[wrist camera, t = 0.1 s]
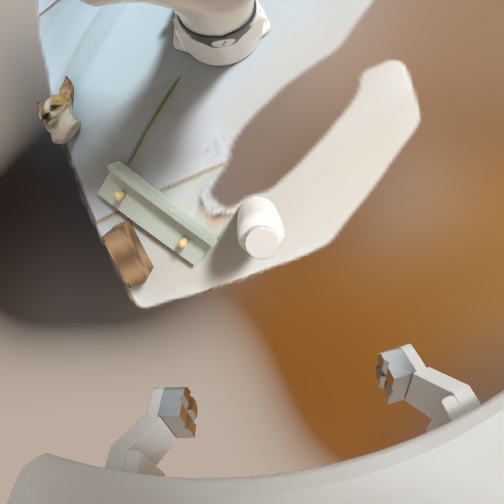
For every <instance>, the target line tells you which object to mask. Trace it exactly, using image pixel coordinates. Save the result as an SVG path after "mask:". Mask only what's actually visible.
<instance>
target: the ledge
mask: <svg viewBox="0 0 504 504" xmlns="http://www.w3.org/2000/svg"><path fill="white" fill-rule="evenodd" d="M107 169H108V170H109V171H110V172H109V173H108V175H107V177H106V179H105V180H104V182H103V184H102V186H101V188H100V189H99V191H98V193H97V194H98V195H100V196H101V197H102V198H104V199H105V200H106V201H107V202H109V203H110V204H111V205H113V206H114V207H115V208H117V209H118V210H119V211H121V212H122V213H123V214H124V215H126V216H127V217H128V218H130V219H131V220H132V221H134V222H135V223H136V224H138V225H139V226H141V227H142V228H143V229H145V230H146V231H147V232H149V233H150V234H151V235H153V236H154V237H155V238H157V239H158V240H160V241H161V242H162V243H164V244H165V245H166V246H168V247H169V248H171V249H172V250H173V251H175V252H176V253H178V254H179V255H180V256H182V257H183V258H185V259H186V260H188V261H189V262H190V263H192V264H193V265H196V264H197V262H198V261H199V260H200V259H201V257H202V256H203V255H204V254H205V252H206V251H207V250H208V249H209V247H210V246H212V247H214V246H215V245H216V243H217V238H218V234H217V233H216V232H215V231H213V230H212V229H211V228H209V227H208V226H207V225H205V224H204V223H203V222H201V221H200V220H199V219H197V218H196V217H195V216H193V215H192V214H190V213H189V212H188V211H186V210H185V209H184V208H182V207H181V206H180V205H178V204H177V203H176V202H174V201H173V200H172V199H170V198H169V197H168V196H166V195H165V194H164V193H162V192H161V191H160V190H158V189H157V188H155V187H154V186H153V185H151V184H150V183H149V182H147V181H146V180H145V179H143V178H142V177H141V176H139V175H138V174H137V173H135V172H134V171H133V170H131V169H130V168H129V167H127V166H126V165H125V164H123V163H122V162H121V161H116V162H113V163H110V164H108V166H107Z"/></svg>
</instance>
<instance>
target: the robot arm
mask: <svg viewBox="0 0 504 504" xmlns="http://www.w3.org/2000/svg"><path fill="white" fill-rule="evenodd" d="M80 1H81V2H83V3H86V4H88V5H92V6H96V7H99V6H104V5H110V4H117V3H146V4H153V5H158V6H163V7H166V8H170V9H172V10H173V13H175V19H174V36H173V45H174V47H175V48H176V49H178V50H181V51H185V52H188V53H189V54H191V55H192V56H193V57H194V58H196V59H197V60H199V61H201V62H203V63H205V64H209V65H215V66H224V65H230V64H234V63H236V62H239V61H241V60H243V59H244V58H246V57H247V56H248V55H250V54H251V53H252V51H253V50H254V49H255V47H256V46H257V44H258V42H259V40H260V39H261V38H262V37H263V36H264V35H266V34H267V33H268V32H269V31H270V29H271V25H270V23H269V21H268V19H267V17H266V15H265V13H264V11H263V10H262V8H261V6H260V4H259V2H258V0H80ZM178 39H179V40H178ZM377 361H378V365H377V366H376V370H375V374H376V379H377V383H378V385H379V386H380V387H382V388H383V393H382V394H383V396H384V398H385V401H386V403H387V404H391V403H394V402H397V401H400V400H403V399H405V401H407V402H408V403H410V404H411V405H413V406H414V407H415V408H417V409H418V410H420V411H421V412H423V413H424V414H426V415H427V416H428V417H430V418H431V419H432V421H431V423H430V424H429V426H428V428H427V430H426V431H427V433H425V434H423V435H420V436H418V437H416V438H413V439H410V440H408V441H405V442H403V443H400V444H397V445H395V446H392V447H389V448H386V449H383V450H380V451H377V452H374V453H371V454H367V455H364V456H361V457H357V458H353V459H350V460H346V461H342V462H338V463H334V464H329V465H326V466H320V467H316V468H310V469H305V470H299V471H293V472H286V473H279V474H270V475H261V476H249V477H236V478H234V477H233V478H182V477H165V474H164V473H163V472H162V471H161V470H160V469H159V468H158V467H157V466H156V465H157V464H158V463H159V462H160V460H161V459H162V457H163V456H164V455H165V454H166V453H167V451H168V450H169V449H170V447H171V446H172V445H173V443H174V442H175V441H176V439H177V438H190V437H191V438H192V437H195V430H196V424H195V423H194V420H195V419H196V418H197V405H196V401H195V399H194V398H193V397H191V396H190V390H189V389H188V387H176V388H155V389H154V390H153V391H152V395H151V399H150V402H149V406H148V410H147V414H146V416H143V417H142V418H141V419H140V420H139V421H138V422H136V423H135V424H134V425H133V426H132V427H131V428H130V429H129V430H128V431H127V432H126V433H125V434H124V435H123V436H121V437H120V438H119V439H118V440H117V441H116V442H115V443H114V444H113V445H112V446H111V448H110V451H109V454H108V458H107V461H106V465H105V468H101V467H96V466H92V465H88V464H84V463H80V462H76V461H72V460H69V459H65V458H61V457H58V456H55V455H52V454H48V453H44V454H42V455H40V456H38V457H37V458H35V459H34V460H32V461H31V462H30V463H28V464H27V465H26V466H24V467H23V468H22V470H21V471H20V473H19V475H18V477H17V479H16V481H15V483H14V486H13V488H12V491H11V493H10V497H9V499H8V502H7V504H504V391H502V392H501V393H499V394H497V395H496V396H494V397H493V398H492V399H490V400H488V401H487V402H485V403H483V404H480V402H479V400H478V399H477V398H476V396H475V394H474V393H473V391H472V390H471V388H470V386H469V385H467V384H465V383H462V382H460V381H458V380H456V379H454V378H451V377H449V376H447V375H445V374H443V373H441V372H439V371H436V370H434V369H432V368H430V367H428V368H426V367H425V365H424V363H423V362H422V360H421V359H420V357H419V356H418V354H417V353H416V351H415V350H414V348H413V347H412V345H411V344H407V345H404V346H402V347H398V348H395V349H391V350H388V351H385V352H382V353H379V354H378V356H377Z"/></svg>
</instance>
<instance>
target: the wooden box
mask: <svg viewBox="0 0 504 504" xmlns="http://www.w3.org/2000/svg"><path fill="white" fill-rule="evenodd" d="M102 240H103V242H104V244H105V246H106V248H107V249H108V251H109V253H110V255H111V257H112V259H113V260H114V262H115V264H116V266H117V267H118V269H119V271H120V273H121V274H122V276H123V278H124V280H125V281H126V283H127V285H128V286H129V288H131V287H133V286H136V285H139V284H141V283H144V282H145V281H146V279H147V277H148V275H149V274H150V272H151V270H152V269H153V265H152V263H151V261H150V259H149V258H148V256H147V254H146V252H145V250H144V248H143V246H142V244H141V242H140V240H139V238H138V236H137V234H136V232H135V231H134V229H133V226H132V224H131V222H130V220H127V221H124V222H122V223H120V224H118V225H116V226H114V227H113V228H112V229H111V230H110V231H109V232H107V233H106V234H105V235H104V236H103V237H102Z"/></svg>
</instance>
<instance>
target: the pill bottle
mask: <svg viewBox="0 0 504 504" xmlns="http://www.w3.org/2000/svg"><path fill="white" fill-rule="evenodd" d="M284 235H285V232H284V227H283V224H282V221H281V219H280V217H279V214H278V212H277V210H276V208H275V206H274V205H273V203H272V202H271V201H269V200H268V199H266V198H263V197H253V198H250V199H248V200H246V201H245V202H244V203H243V204H242V205H241V206H240V208H239V211H238V217H237V238H238V242H239V244H240V246H241V247H242V248H243V249H244V250H245V251H246V252H247V253H249V254H250V255H251V256H253V257H254V258H257V259H266V258H269V257H271V256H273V255H274V254H275V252H276V251H277V250H278V249H279V247H280V246H281V244H282V242H283V240H284Z"/></svg>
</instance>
